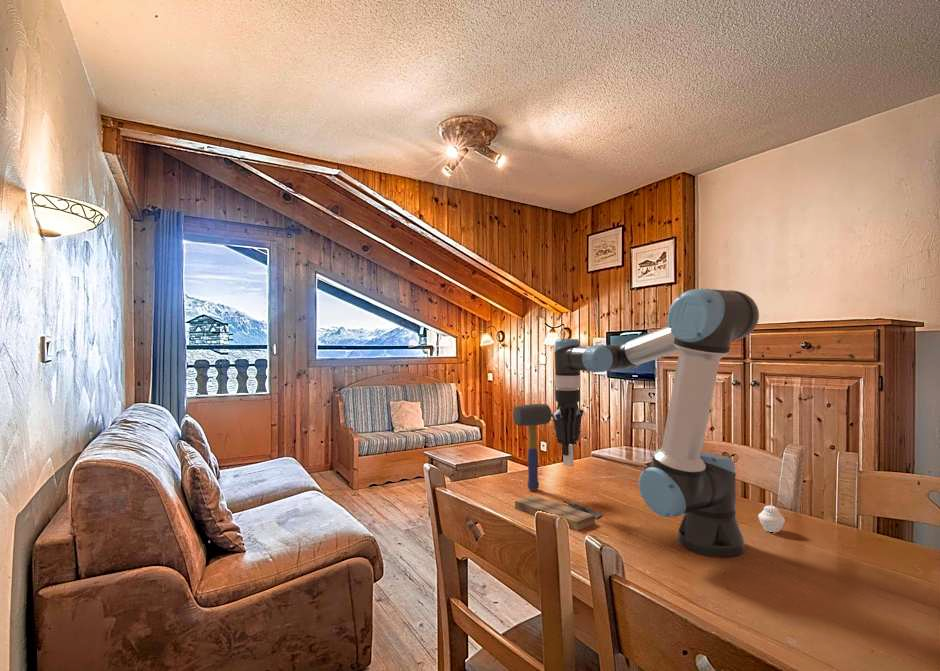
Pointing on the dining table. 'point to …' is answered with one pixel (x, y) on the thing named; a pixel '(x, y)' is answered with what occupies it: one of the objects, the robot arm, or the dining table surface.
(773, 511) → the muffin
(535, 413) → the rubber mallet
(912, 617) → the dining table surface
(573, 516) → the floorboard
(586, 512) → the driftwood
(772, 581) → the dining table surface
